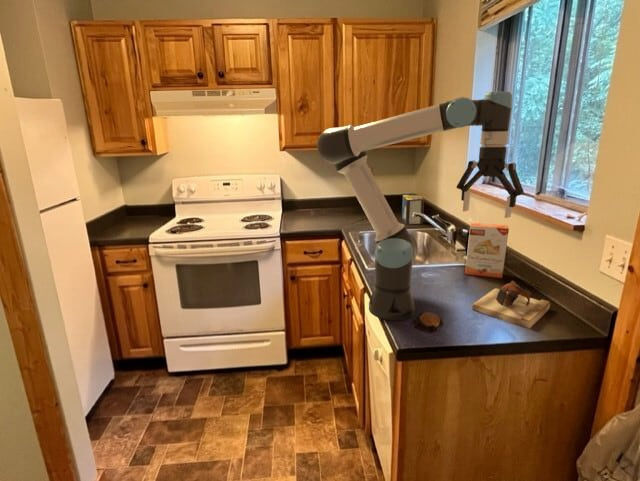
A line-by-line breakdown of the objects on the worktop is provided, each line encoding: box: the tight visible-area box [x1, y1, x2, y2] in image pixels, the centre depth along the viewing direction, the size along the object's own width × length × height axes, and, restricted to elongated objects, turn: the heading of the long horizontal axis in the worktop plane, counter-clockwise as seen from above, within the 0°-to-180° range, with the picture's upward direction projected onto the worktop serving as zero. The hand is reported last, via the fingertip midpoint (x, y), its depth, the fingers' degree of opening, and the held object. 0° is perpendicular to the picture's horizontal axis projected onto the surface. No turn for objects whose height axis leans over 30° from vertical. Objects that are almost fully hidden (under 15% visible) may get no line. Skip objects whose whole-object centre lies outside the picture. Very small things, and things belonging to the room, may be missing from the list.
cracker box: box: [464, 222, 510, 279], centre depth 157 cm, size 14×6×21 cm, turn 70°
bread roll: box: [411, 311, 444, 334], centre depth 122 cm, size 11×8×4 cm
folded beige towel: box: [471, 287, 551, 329], centre depth 130 cm, size 18×18×3 cm
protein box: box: [401, 194, 425, 225], centre depth 244 cm, size 10×15×16 cm
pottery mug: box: [496, 280, 533, 306], centre depth 129 cm, size 12×10×8 cm
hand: (485, 213), depth 125 cm, fingers open, 13 cm apart
